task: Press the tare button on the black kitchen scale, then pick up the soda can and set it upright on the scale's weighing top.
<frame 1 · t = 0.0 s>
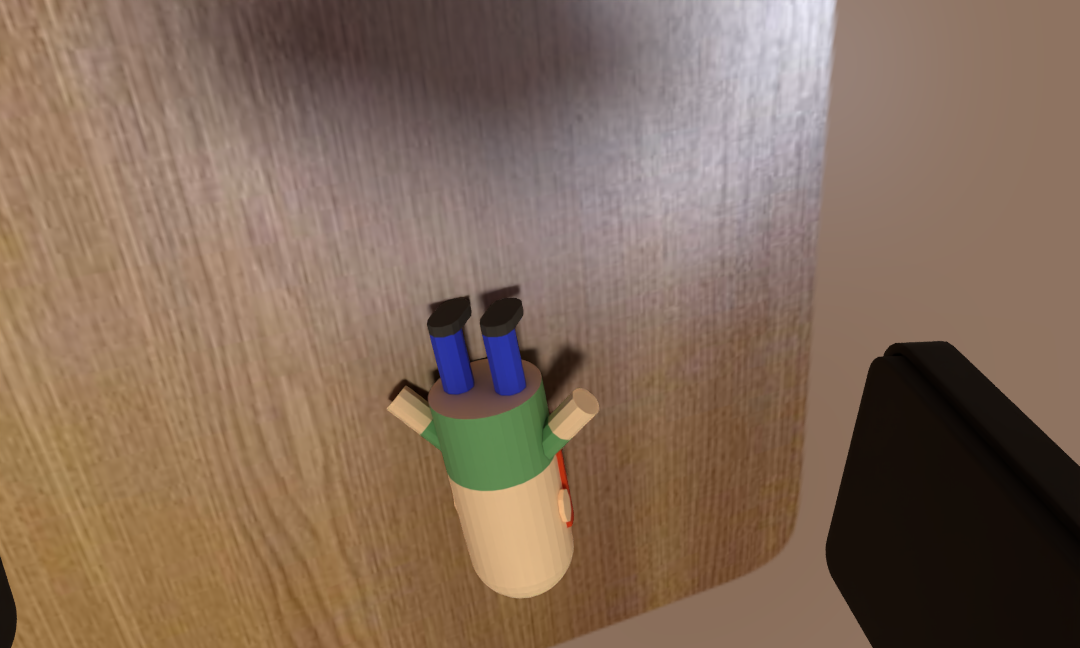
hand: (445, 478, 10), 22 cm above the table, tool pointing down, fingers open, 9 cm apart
toy figurine: (486, 421, 37), on the table
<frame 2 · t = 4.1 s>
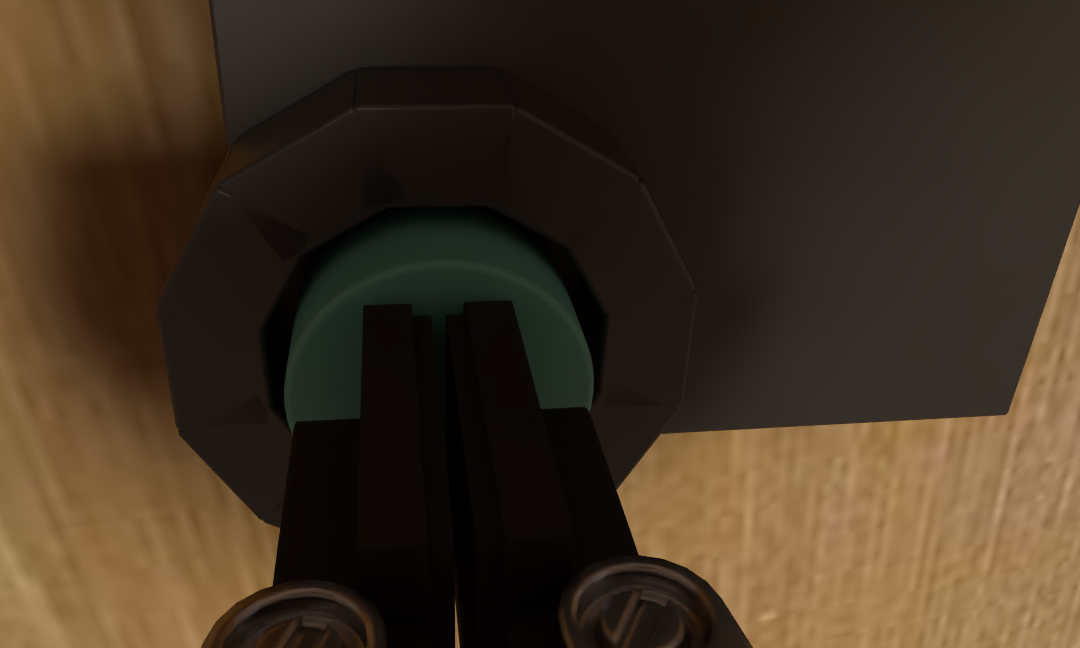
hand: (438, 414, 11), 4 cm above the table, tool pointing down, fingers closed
tare button: (439, 362, 12), point 3 cm above the table, slide at -0.4 cm, touching gripper
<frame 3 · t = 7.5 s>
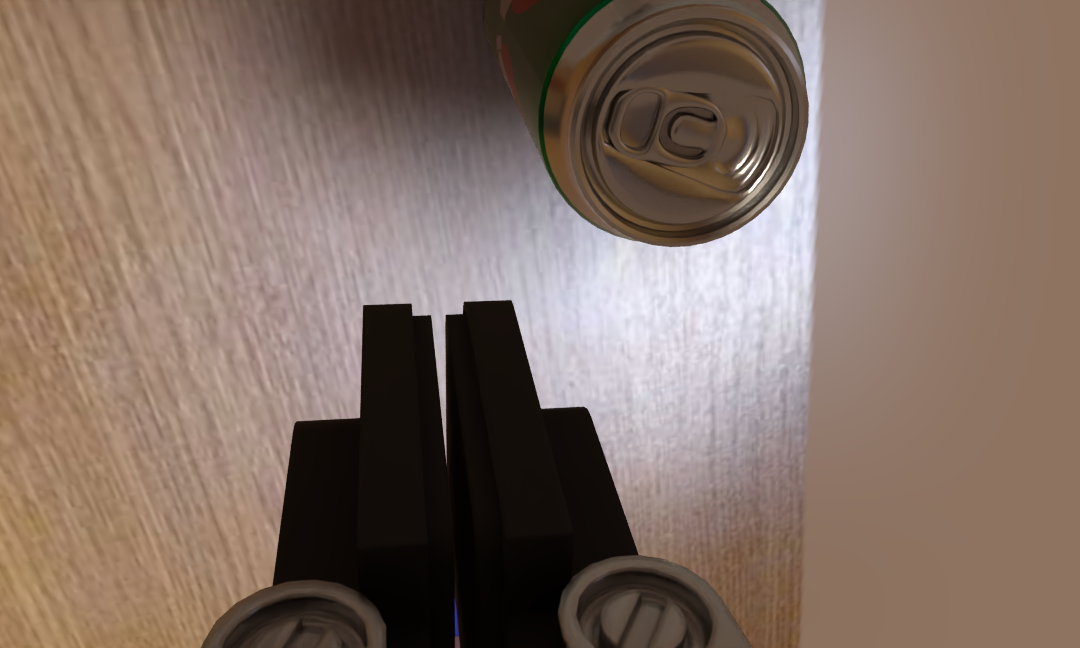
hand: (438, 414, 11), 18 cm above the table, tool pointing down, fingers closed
soda can: (568, 4, 27), on the table
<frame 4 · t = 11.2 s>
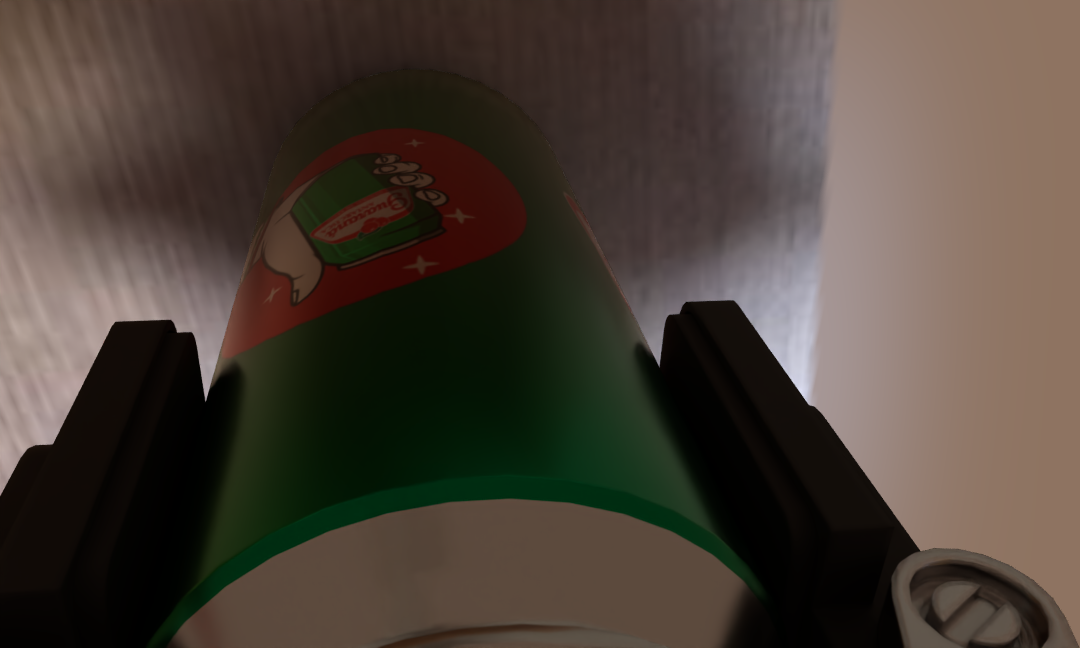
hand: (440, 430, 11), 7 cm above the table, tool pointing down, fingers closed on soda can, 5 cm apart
soda can: (417, 200, 17), on the table, touching gripper
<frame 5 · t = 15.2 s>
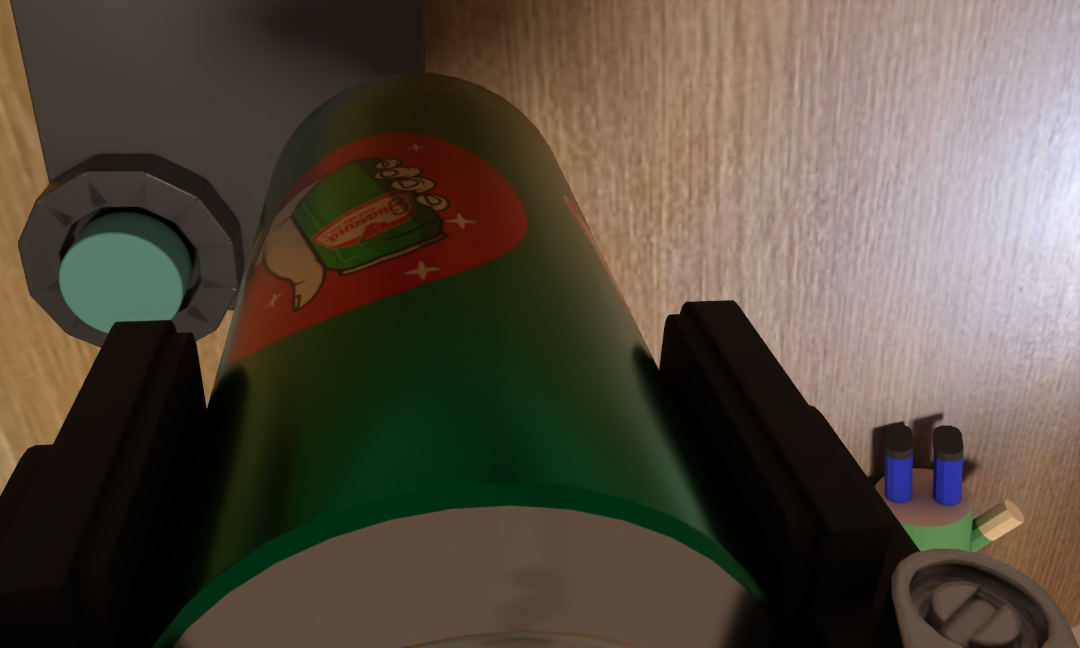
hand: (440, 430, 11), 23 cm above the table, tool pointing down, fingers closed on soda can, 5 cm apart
tare button: (127, 274, 30), point 3 cm above the table, slide at 0.1 cm
soda can: (418, 203, 17), point 16 cm above the table, touching gripper
scale: (241, 103, 31), on the table
toy figurine: (889, 516, 45), on the table
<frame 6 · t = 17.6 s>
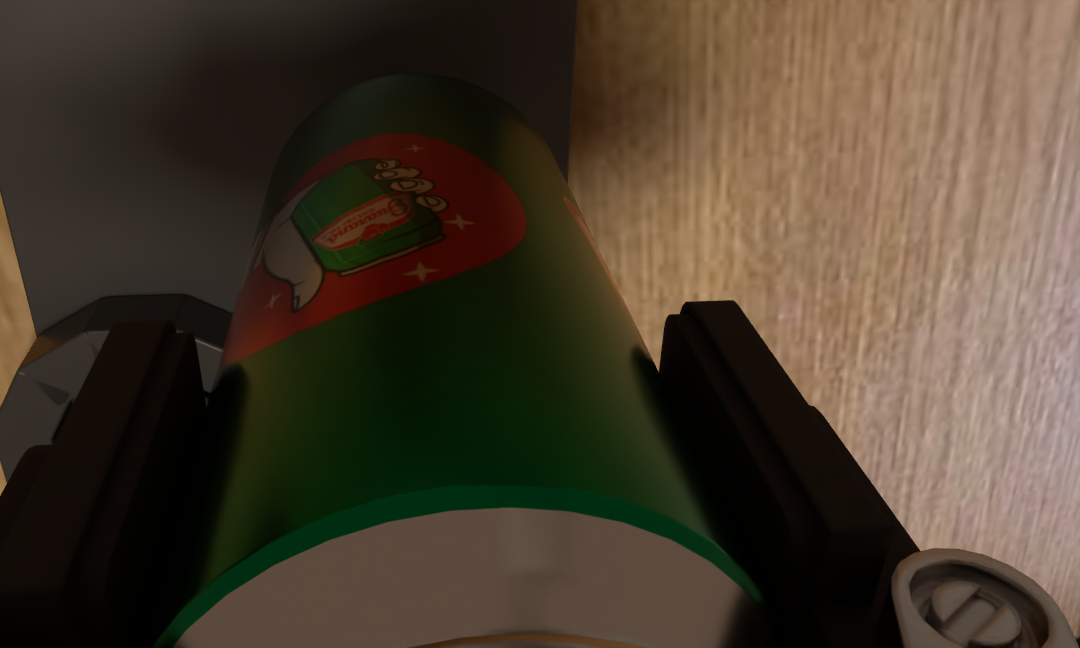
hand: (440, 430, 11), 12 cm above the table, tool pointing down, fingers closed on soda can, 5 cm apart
tare button: (148, 468, 21), point 3 cm above the table, slide at 0.1 cm
soda can: (418, 203, 17), point 5 cm above the table, touching gripper
scale: (304, 215, 22), on the table
when the fingers open (8 cm above the table, at t = 19.3 s): soda can stays where it is, resting on scale.
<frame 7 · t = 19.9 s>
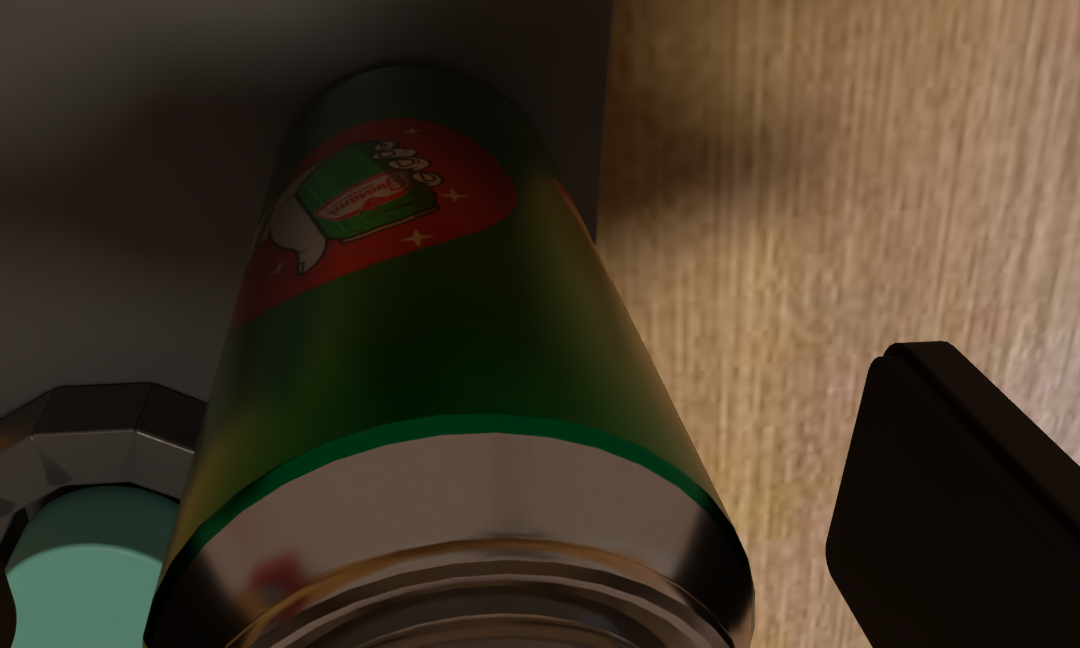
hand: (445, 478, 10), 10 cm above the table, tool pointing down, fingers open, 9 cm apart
tare button: (109, 587, 18), point 3 cm above the table, slide at 0.1 cm
soda can: (415, 191, 17), point 1 cm above the table, touching scale
scale: (291, 287, 19), on the table
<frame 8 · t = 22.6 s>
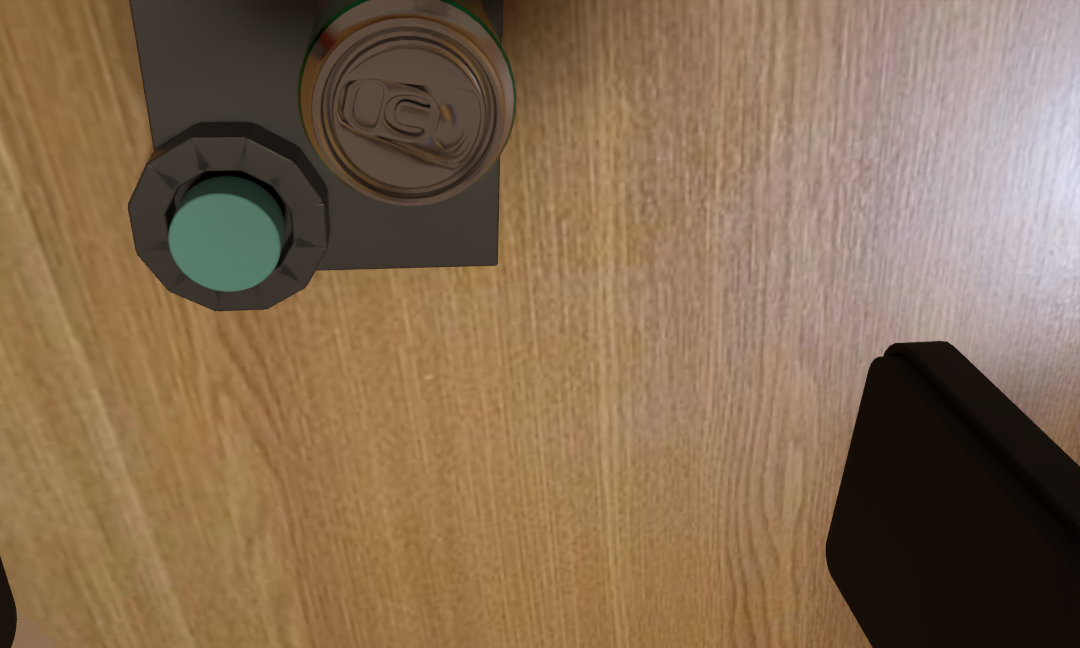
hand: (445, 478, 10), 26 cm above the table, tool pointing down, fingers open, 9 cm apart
tare button: (228, 234, 32), point 3 cm above the table, slide at 0.1 cm
soda can: (399, 9, 32), point 1 cm above the table, touching scale
scale: (329, 75, 33), on the table
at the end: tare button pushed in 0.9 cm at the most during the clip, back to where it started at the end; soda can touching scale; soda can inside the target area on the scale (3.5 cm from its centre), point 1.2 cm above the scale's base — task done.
